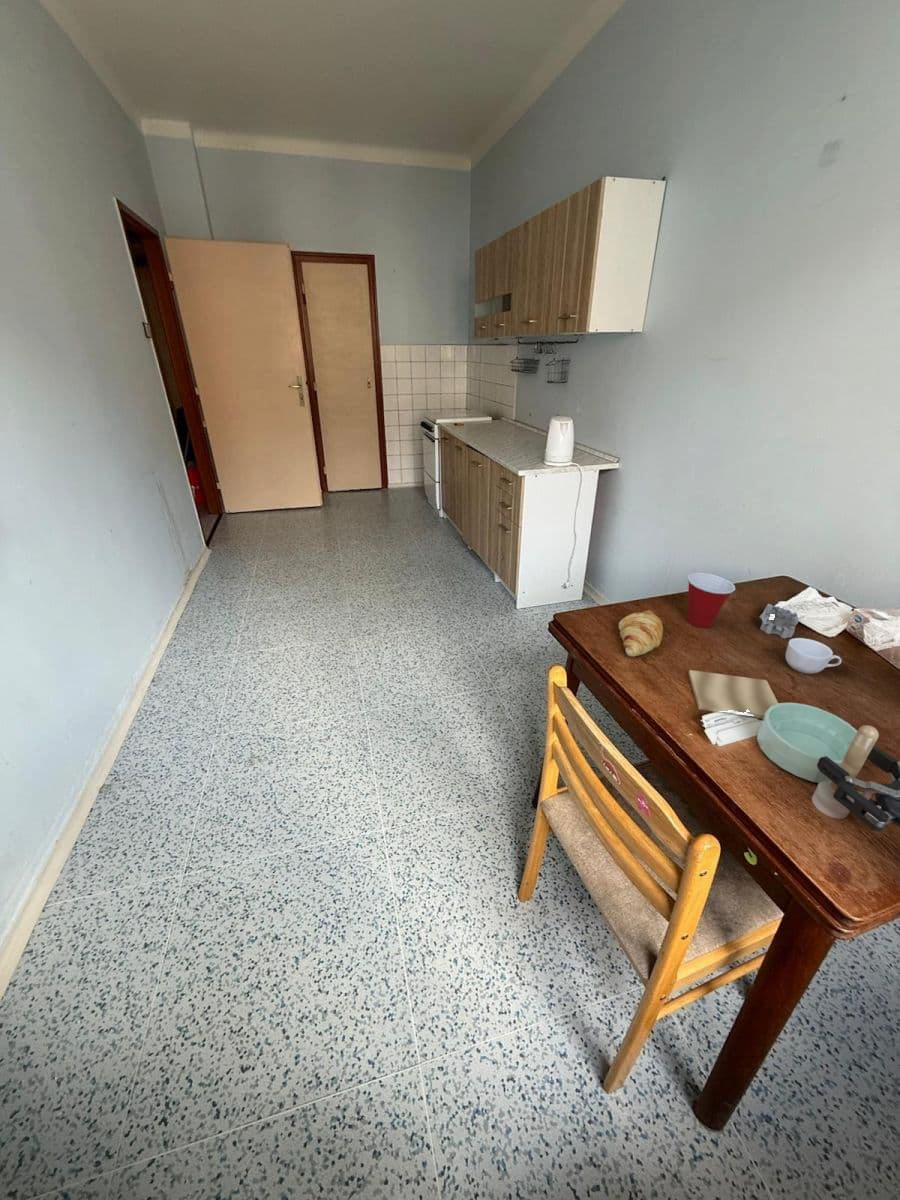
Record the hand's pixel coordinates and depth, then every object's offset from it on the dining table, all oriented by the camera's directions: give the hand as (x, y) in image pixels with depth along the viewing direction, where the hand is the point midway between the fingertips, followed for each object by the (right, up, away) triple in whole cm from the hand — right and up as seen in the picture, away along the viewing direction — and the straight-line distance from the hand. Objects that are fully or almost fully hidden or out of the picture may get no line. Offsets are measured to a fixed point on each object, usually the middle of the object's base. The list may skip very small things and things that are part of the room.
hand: (843, 754), depth 70 cm
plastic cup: (+6, +17, +52) cm, 55 cm away
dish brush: (0, -9, +3) cm, 10 cm away
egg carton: (+24, +16, +49) cm, 57 cm away
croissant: (-12, +13, +46) cm, 49 cm away
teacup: (+20, +8, +34) cm, 40 cm away
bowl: (+3, -4, +13) cm, 14 cm away
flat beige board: (-1, +3, +26) cm, 27 cm away
